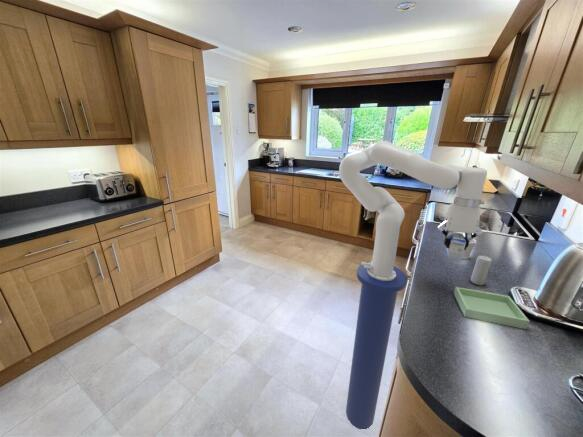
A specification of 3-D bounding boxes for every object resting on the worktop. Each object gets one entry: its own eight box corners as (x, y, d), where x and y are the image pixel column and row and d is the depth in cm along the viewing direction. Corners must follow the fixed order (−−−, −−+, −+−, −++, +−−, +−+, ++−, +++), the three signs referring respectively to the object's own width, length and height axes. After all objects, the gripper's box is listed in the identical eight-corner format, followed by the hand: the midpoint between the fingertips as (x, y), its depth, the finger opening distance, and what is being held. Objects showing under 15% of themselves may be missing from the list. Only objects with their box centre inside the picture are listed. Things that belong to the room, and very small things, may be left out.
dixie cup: (453, 258, 125) (458, 240, 121) (451, 251, 132) (455, 234, 128) (472, 262, 121) (478, 244, 118) (469, 254, 128) (474, 237, 125)
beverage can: (468, 278, 107) (475, 254, 103) (481, 280, 106) (489, 256, 102) (472, 284, 103) (480, 259, 99) (485, 286, 101) (494, 261, 97)
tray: (464, 316, 85) (466, 309, 84) (453, 293, 97) (455, 286, 96) (526, 329, 80) (529, 321, 78) (506, 303, 92) (509, 296, 91)
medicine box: (445, 250, 99) (449, 231, 96) (457, 252, 97) (462, 232, 94) (447, 259, 92) (452, 238, 90) (461, 261, 91) (466, 240, 88)
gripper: (489, 201, 88) (477, 246, 95) (437, 197, 93) (428, 240, 99) (499, 207, 82) (484, 255, 88) (442, 202, 87) (432, 248, 93)
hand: (455, 247), depth 94 cm, fingers closed on medicine box, 4 cm apart
